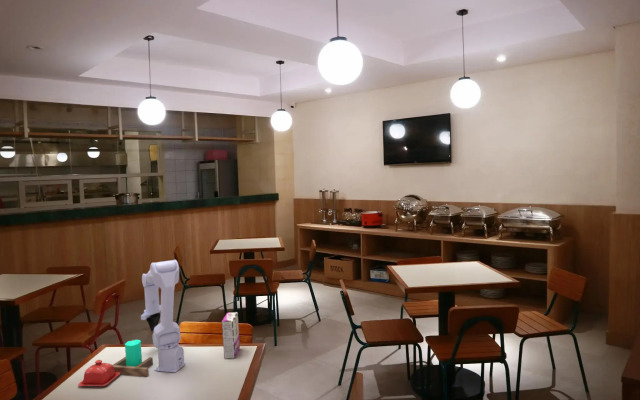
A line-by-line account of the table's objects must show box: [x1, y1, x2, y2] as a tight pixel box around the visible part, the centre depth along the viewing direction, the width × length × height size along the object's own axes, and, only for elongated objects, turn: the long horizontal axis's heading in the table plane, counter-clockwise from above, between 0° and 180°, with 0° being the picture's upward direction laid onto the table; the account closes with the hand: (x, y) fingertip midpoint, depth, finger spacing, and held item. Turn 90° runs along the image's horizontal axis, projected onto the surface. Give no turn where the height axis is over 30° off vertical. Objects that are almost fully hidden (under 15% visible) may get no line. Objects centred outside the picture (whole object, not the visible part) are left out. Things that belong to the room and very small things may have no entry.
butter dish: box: [77, 359, 120, 387], centre depth 176 cm, size 12×12×8 cm
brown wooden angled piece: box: [112, 356, 154, 378], centre depth 186 cm, size 20×10×3 cm, turn 77°
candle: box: [124, 339, 143, 367], centre depth 187 cm, size 6×6×12 cm
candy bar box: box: [221, 311, 241, 360], centre depth 198 cm, size 11×5×16 cm, turn 179°
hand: (154, 330), depth 203 cm, fingers closed
